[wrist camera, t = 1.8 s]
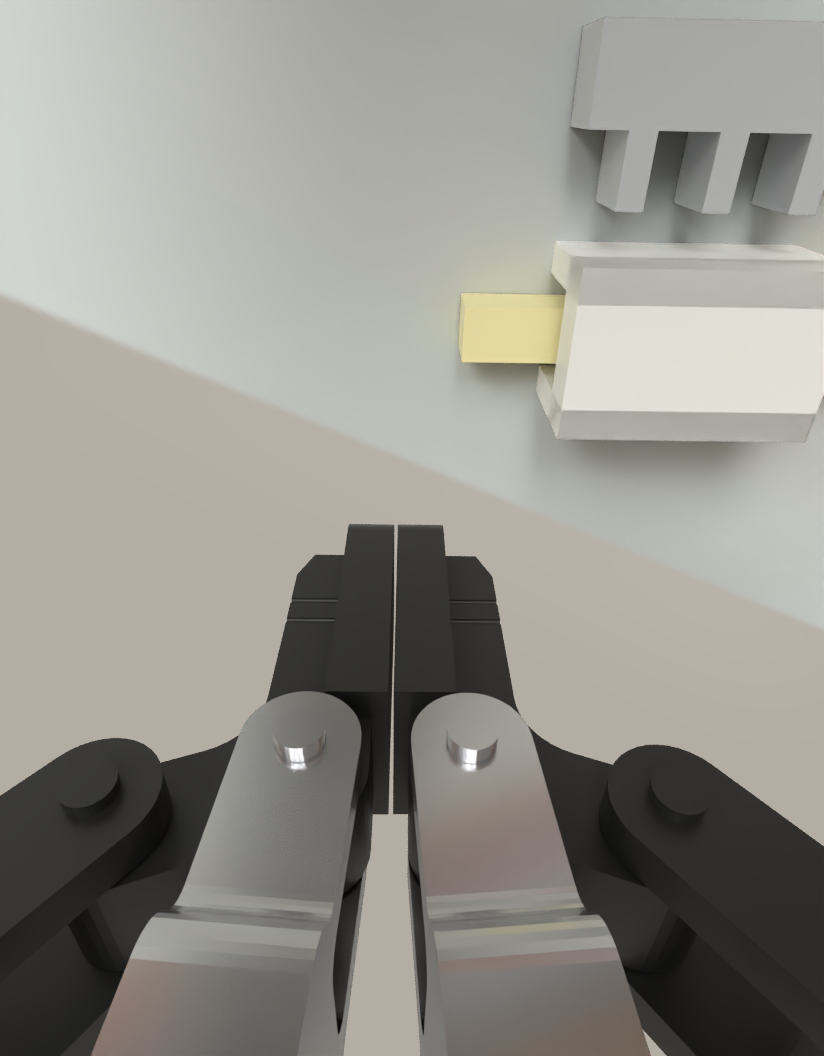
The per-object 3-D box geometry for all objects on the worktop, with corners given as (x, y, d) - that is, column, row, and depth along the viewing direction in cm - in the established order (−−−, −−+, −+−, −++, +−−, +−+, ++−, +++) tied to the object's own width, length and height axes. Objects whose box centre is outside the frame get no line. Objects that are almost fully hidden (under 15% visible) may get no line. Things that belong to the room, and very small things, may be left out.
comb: (582, 25, 18) (604, 17, 16) (865, 32, 18) (920, 24, 16) (560, 200, 21) (577, 211, 19) (809, 205, 21) (852, 216, 19)
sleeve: (554, 240, 21) (583, 267, 18) (795, 244, 22) (870, 272, 18) (535, 390, 24) (557, 439, 21) (747, 393, 24) (805, 442, 21)
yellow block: (461, 293, 22) (464, 306, 21) (1109, 303, 22) (1159, 318, 21) (458, 345, 23) (461, 362, 22) (1079, 354, 23) (1124, 371, 22)
